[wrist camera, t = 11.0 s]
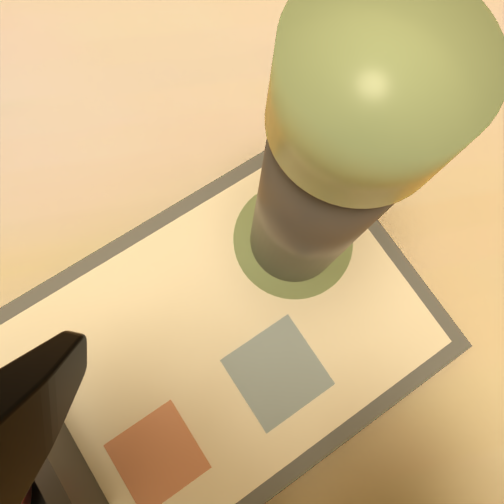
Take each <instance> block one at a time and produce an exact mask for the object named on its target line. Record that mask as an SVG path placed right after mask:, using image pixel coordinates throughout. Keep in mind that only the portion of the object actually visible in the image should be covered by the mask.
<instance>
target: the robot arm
mask: <svg viewBox="0 0 504 504" xmlns="http://www.w3.org/2000/svg"><path fill="white" fill-rule="evenodd" d="M86 368H87V338H86V336H85V335H84V334H82V333H77V332H73V331H63V332H61V333H59V334H57V335H56V336H54V337H52V338H51V339H49V340H47V341H45V342H44V343H42V344H40V345H39V346H37V347H35V348H34V349H32V350H30V351H28V352H27V353H25V354H23V355H22V356H20V357H18V358H17V359H15V360H13V361H11V362H10V363H8V364H6V365H5V366H3V367H1V368H0V504H21V503H22V501H23V499H24V497H25V496H26V494H27V492H28V490H29V489H30V487H31V485H32V483H33V482H34V480H35V478H36V476H37V475H38V473H39V471H40V469H41V468H42V466H43V464H44V462H45V461H46V459H47V457H48V455H49V453H50V451H51V449H52V448H53V446H54V443H55V441H56V439H57V437H58V435H59V432H60V430H61V428H62V426H63V423H64V421H65V419H66V416H67V414H68V412H69V409H70V407H71V405H72V402H73V400H74V398H75V396H76V393H77V391H78V389H79V386H80V384H81V382H82V379H83V377H84V375H85V372H86Z"/></svg>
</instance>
